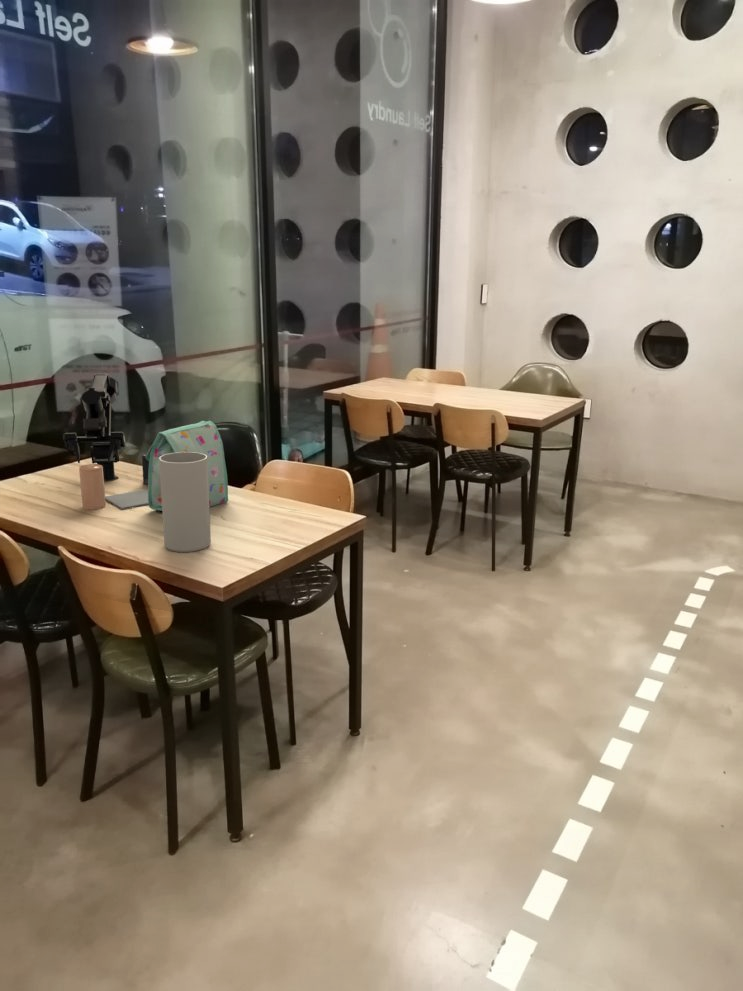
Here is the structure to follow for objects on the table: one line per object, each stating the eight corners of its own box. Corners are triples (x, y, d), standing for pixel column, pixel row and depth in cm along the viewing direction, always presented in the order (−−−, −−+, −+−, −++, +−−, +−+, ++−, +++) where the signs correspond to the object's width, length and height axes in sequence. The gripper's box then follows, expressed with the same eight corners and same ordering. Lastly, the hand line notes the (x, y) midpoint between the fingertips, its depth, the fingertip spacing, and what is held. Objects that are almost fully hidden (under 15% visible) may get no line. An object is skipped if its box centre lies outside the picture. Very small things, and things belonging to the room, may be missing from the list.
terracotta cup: (79, 505, 245) (76, 466, 242) (100, 501, 250) (97, 463, 246) (87, 510, 241) (84, 470, 237) (108, 506, 245) (105, 467, 241)
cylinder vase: (192, 534, 221) (188, 449, 214) (220, 544, 214) (216, 457, 207) (155, 545, 212) (149, 457, 205) (183, 556, 204) (178, 465, 197)
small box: (160, 485, 269) (158, 456, 266) (142, 484, 270) (140, 455, 267) (172, 478, 279) (170, 449, 276) (155, 477, 280) (153, 448, 277)
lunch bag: (198, 494, 260) (194, 415, 253) (233, 502, 252) (230, 421, 244) (143, 510, 242) (138, 426, 234) (180, 520, 233) (175, 433, 226)
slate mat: (103, 498, 253) (103, 496, 253) (146, 491, 263) (146, 489, 262) (121, 509, 242) (121, 507, 242) (166, 501, 252) (166, 499, 251)
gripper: (61, 408, 246) (58, 449, 239) (121, 407, 250) (121, 448, 243) (67, 427, 256) (64, 468, 249) (125, 426, 260) (125, 466, 252)
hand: (93, 462), depth 248 cm, fingers open, 9 cm apart
